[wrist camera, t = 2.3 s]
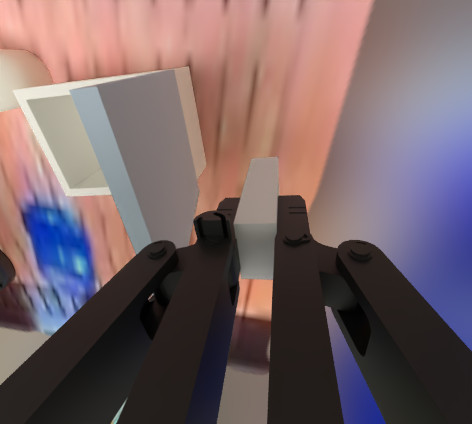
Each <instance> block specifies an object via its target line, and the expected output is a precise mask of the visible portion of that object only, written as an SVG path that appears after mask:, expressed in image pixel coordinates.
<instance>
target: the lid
mask: <svg viewBox="0 0 472 424" xmlns="http://www.w3.org/2000/svg"><path fill="white" fill-rule="evenodd" d="M69 91H70V94H71V96H72V99H73V101H74V104H75V106H76V108H77V111H78V113H79V116H80V118H81V121H82V123H83V126H84V128H85V130H86V133H87V135H88V138H89V140H90V143H91V145H92V148H93V150H94V153H95V155H96V157H97V160H98V162H99V165H100V167H101V170H102V172H103V175H104V177H105V179H106V182H107V184H108V187H109V189H110V192H111V194H112V197H113V199H114V201H115V204H116V206H117V209H118V211H119V214H120V216H121V219H122V221H123V223H124V226H125V228H126V231H127V233H128V236H129V238H130V241H131V243H132V245H133V248H134V250H135V253H136V255H137V254H138V253H139V252H140V251H141V250H142V249H143V248H144V247H146V246H147V245H148V244H151V243H153V242H155V241H160V240H168V241H171V242H173V243H174V244H175V246H176V249H177V248H182V247H187V246H189V242H190V237H191V232H192V227H193V220H194V217H195V212H196V207H197V202H198V197H199V187H198V182H197V177H196V172H195V168H194V163H193V158H192V153H191V148H190V144H189V139H188V134H187V129H186V124H185V119H184V115H183V110H182V105H181V100H180V95H179V90H178V86H177V81H176V76H175V71H174V69H173V70H166V71H160V72H155V73H150V74H145V75H140V76H135V77H130V78H126V79H121V80H116V81H111V82H106V83H101V84H96V85H91V86H86V87H82V88H77V89H72V90H69ZM152 294H153V293H152ZM153 295H154V294H153Z"/></svg>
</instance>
